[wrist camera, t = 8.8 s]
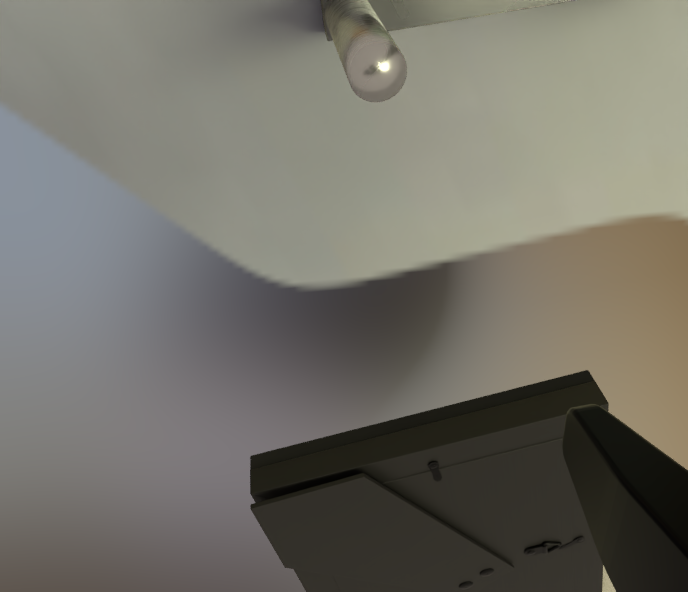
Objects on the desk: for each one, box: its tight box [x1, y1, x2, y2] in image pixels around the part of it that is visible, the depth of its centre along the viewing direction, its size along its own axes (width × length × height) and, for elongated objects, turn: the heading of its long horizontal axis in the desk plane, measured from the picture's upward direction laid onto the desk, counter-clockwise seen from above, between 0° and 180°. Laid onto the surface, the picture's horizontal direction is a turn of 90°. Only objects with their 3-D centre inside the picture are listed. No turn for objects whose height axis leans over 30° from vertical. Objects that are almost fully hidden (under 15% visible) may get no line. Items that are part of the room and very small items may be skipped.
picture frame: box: [250, 370, 608, 592], centre depth 34 cm, size 16×3×21 cm
